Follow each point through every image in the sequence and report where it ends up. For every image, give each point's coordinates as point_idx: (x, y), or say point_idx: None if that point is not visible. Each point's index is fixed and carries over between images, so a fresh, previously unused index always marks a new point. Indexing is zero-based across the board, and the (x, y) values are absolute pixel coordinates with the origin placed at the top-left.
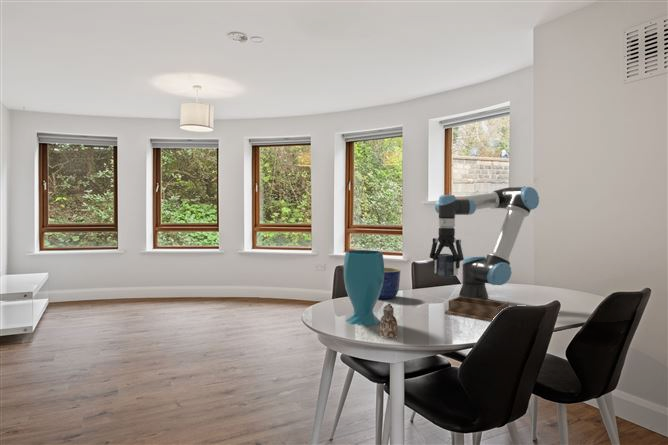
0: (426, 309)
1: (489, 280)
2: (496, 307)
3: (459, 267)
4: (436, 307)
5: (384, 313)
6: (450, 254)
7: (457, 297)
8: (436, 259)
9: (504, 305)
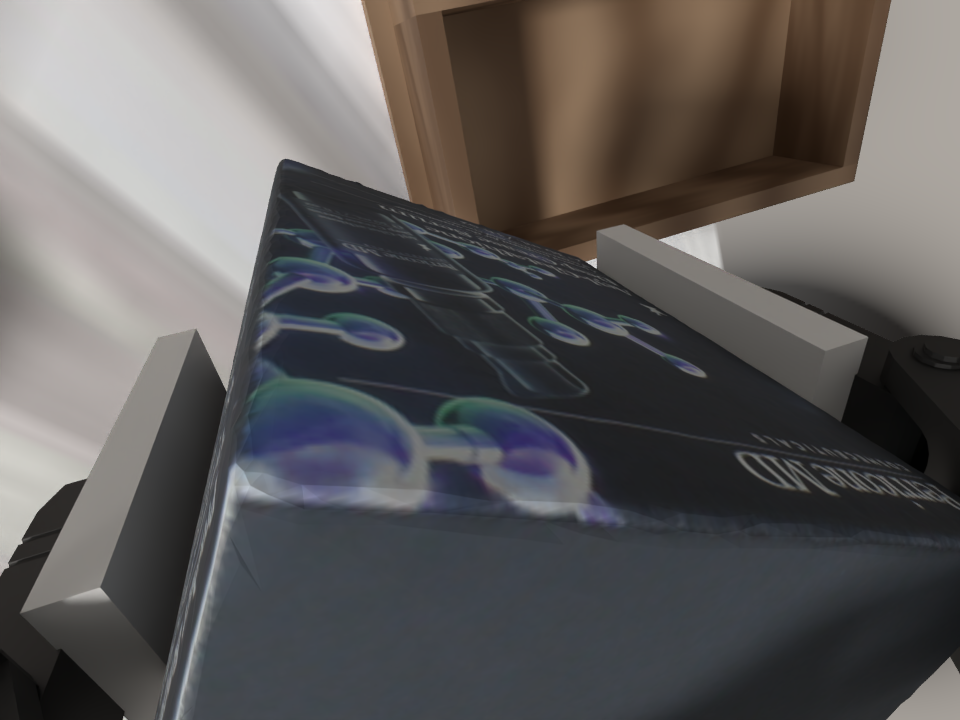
0: (241, 314)
1: None
2: (843, 174)
3: (775, 290)
4: (215, 173)
5: None
6: (778, 560)
7: (433, 84)
8: (78, 676)
9: (883, 14)
